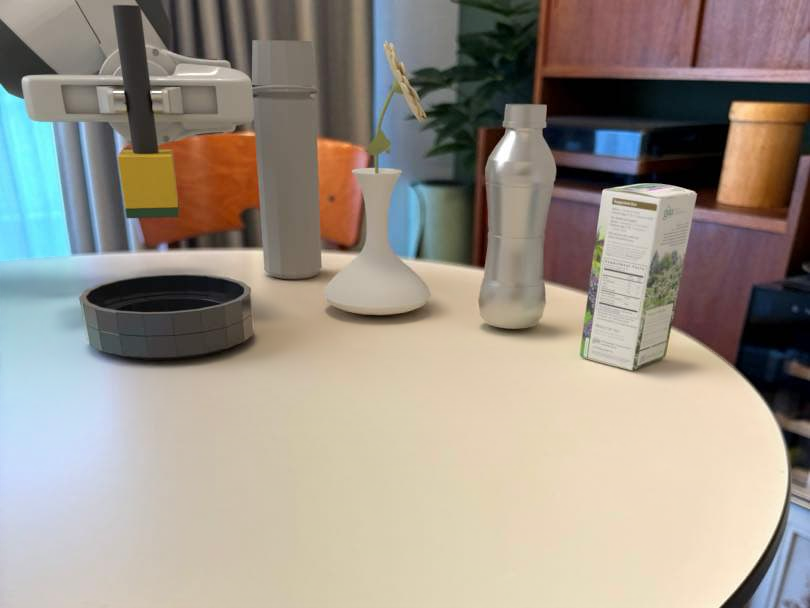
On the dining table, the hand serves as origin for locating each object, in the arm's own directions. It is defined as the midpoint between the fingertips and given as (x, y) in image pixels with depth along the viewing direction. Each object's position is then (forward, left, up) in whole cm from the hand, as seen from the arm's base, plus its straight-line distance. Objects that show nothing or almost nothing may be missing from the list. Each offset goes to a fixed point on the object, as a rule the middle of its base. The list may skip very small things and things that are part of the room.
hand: (139, 102), depth 71 cm
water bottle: (+20, +20, -20) cm, 35 cm away
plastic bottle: (+32, -12, -20) cm, 39 cm away
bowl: (0, -3, -20) cm, 20 cm away
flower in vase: (+23, 0, -20) cm, 30 cm away
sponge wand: (0, +1, -9) cm, 9 cm away
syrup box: (+36, -25, -20) cm, 48 cm away
